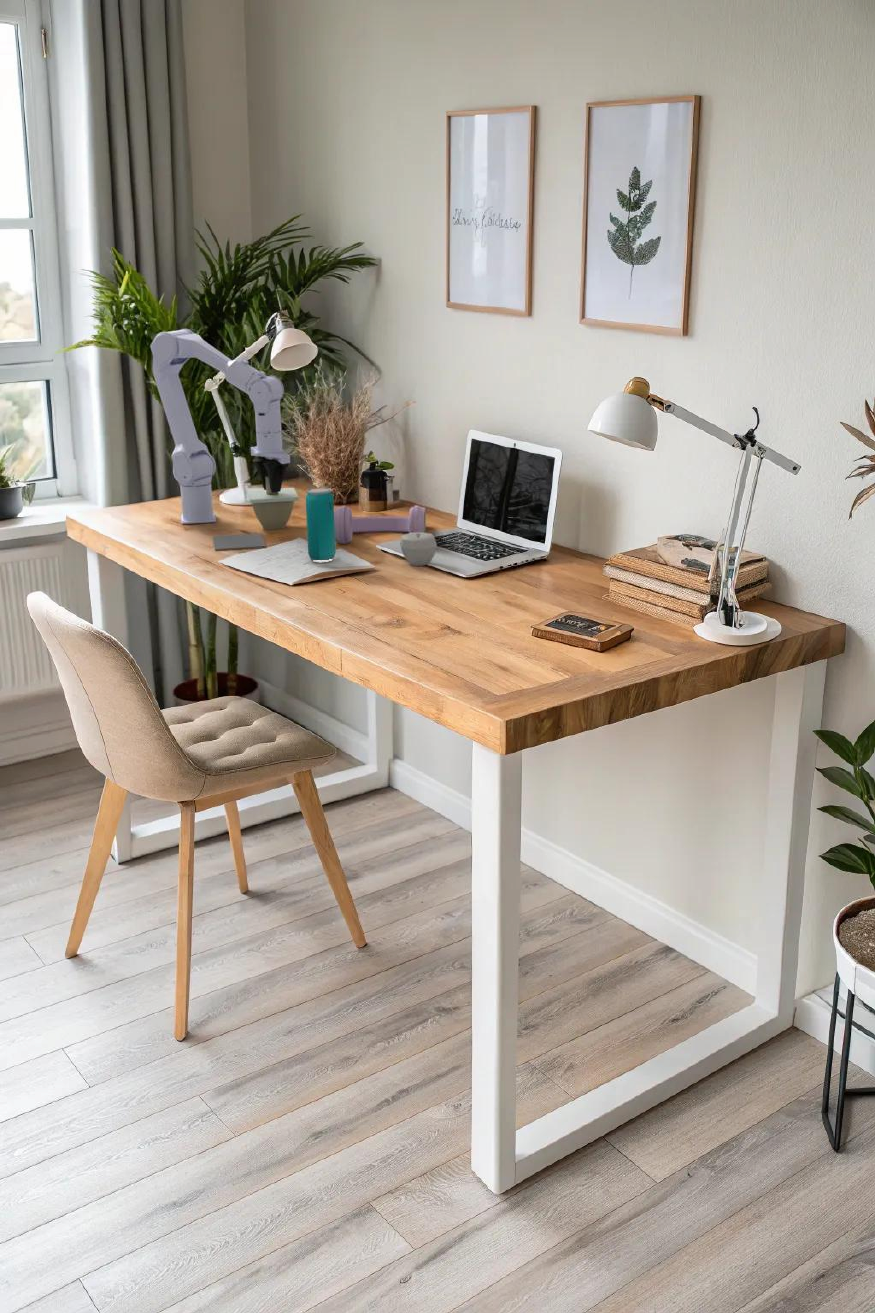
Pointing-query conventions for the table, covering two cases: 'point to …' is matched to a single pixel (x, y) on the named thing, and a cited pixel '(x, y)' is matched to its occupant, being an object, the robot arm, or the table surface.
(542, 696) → the table surface
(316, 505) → the beverage can
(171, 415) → the robot arm
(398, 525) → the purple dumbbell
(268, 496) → the lid
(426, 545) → the apple
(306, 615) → the table surface
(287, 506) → the flower pot
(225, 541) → the mat
